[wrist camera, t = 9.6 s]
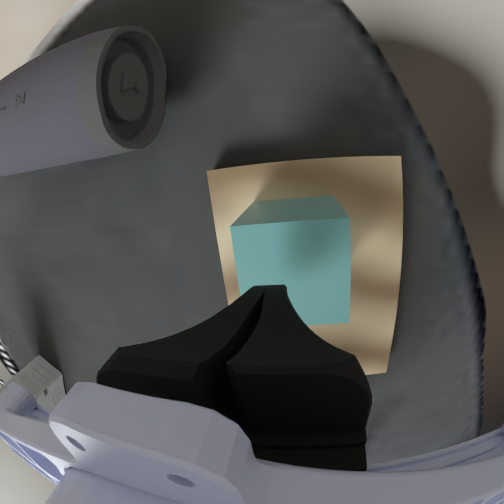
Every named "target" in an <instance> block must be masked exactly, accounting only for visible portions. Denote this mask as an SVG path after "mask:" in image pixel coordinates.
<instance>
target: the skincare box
mask: <svg viewBox="0 0 504 504" xmlns="http://www.w3.org/2000/svg"><path fill="white" fill-rule="evenodd" d="M12 382H16V383H17V384H19V385H21V386H23V387H25V388H26V389H27V390H28V391H29V392H30V393H31V394H32V395H33V397H34V398H35V400H36V401H37V404H38V405H40V406H42V407H44V408H45V409H47V410H49V411H51V412H52V411H53V410H54V408H55V407H56V406H57V405H58V404H59V402H60V401H61V400H62V399H63V398H64V397H65V395H66V393H65V389H64V384H63V376H62V373H61V372H60V371H59V370H57V369H56V368H55V367H53V366H52V365H51V364H50V363H49V362H47V361H46V360H45V359H44V358H42V357H41V356H40V355H38V356H37V357H36V358H34V359H33V360H32V361H31V362H30V363H29V364H27V365H26V366H25V367H24V368H23V369H22V370H20V371H19V372H18V373H17V374H16V375H15V376H14V377H12V378H11V379H10V380H9V381H8V382H7V383H6V384H5V385H4V386H2V387H1V388H0V394H1V393H2V392H3V391H4V390H5V389H6V388H7V387H8V386H9V385H10V384H11V383H12Z"/></svg>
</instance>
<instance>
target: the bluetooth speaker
mask: <svg viewBox="0 0 504 504" xmlns="http://www.w3.org/2000/svg"><path fill="white" fill-rule="evenodd" d="M166 81H167V71H166V64H165V60H164V56H163V53H162V51H161V48H160V46H159V44H158V42H157V41H156V39H155V38H154V36H153V35H152V34H151V33H150V32H149V31H148V30H146V29H145V28H142V27H139V26H134V25H126V26H119V27H115V28H110V29H105V30H101V31H98V32H94V33H91V34H88V35H85V36H83V37H80V38H78V39H75V40H73V41H70V42H68V43H65V44H63V45H61V46H59V47H56V48H54V49H52V50H50V51H48V52H46V53H44V54H42V55H40V56H38V57H36V58H34V59H33V60H31V61H29V62H27V63H26V64H24V65H22V66H21V67H19V68H18V69H16V70H15V71H13V72H12V73H10V74H9V75H7V76H6V77H4V78H3V79H2V80H0V176H6V175H12V174H18V173H24V172H29V171H34V170H40V169H45V168H50V167H55V166H60V165H65V164H70V163H75V162H80V161H85V160H91V159H97V158H102V157H107V156H113V155H117V154H121V153H126V152H129V151H133V150H137V149H140V148H143V147H145V146H147V145H148V144H150V143H151V142H152V141H153V139H154V138H155V137H156V135H157V134H158V132H159V130H160V128H161V125H162V123H163V119H164V115H165V95H166Z"/></svg>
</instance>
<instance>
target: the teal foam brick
mask: <svg viewBox="0 0 504 504" xmlns="http://www.w3.org/2000/svg"><path fill="white" fill-rule="evenodd" d="M230 231H231V238H232V245H233V251H234V258H235V265H236V271H237V277H238V284H239V290H240V296H241V295H243V294H244V293H245V292H246V291H247V290H249V289H250V288H251V287H253V286H258V285H283V284H284V285H285V286H286V287H287V294H288V297H289V299H290V301H291V303H292V305H293V307H294V309H295V310H296V312H297V313H298V315H299V316H300V318H301V319H302V320H303V322H304V323H305V324H306V325H321V324H337V323H349V315H350V287H351V236H350V217H349V216H348V215H347V213H346V212H345V211H344V209H343V208H342V207H341V205H340V204H339V203H338V201H337V200H336V199H335V197H334V196H318V197H303V198H290V199H278V200H266V201H256V202H253V203H252V204H251V205H250V206H249V207H248V208H247V209H246V210H245V211H244V212H243V213H242V214H241V215H240V216H239V217H238V218H237V220H236V221H235V222H234V223H233V224H232V225H231V226H230Z"/></svg>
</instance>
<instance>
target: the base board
mask: <svg viewBox="0 0 504 504" xmlns="http://www.w3.org/2000/svg"><path fill="white" fill-rule="evenodd" d="M207 176H208V183H209V190H210V197H211V203H212V210H213V216H214V223H215V229H216V235H217V241H218V247H219V253H220V259H221V265H222V271H223V276H224V282H225V288H226V293H227V299H228V304H229V305H230V304H231V303H233V302H234V301H235V300H236V299H238V298H239V297H240V290H239V284H238V277H237V271H236V265H235V258H234V251H233V245H232V238H231V231H230V226H231V225H232V224H233V223H234V222H235V221H236V220H237V218H238V217H239V216H240V215H241V214H242V213H243V212H244V211H245V210H246V209H247V208H248V207H249V206H250V205H251V204H252V203H253V202H256V201H266V200H278V199H290V198H303V197H318V196H334V197H335V199H336V200H337V201H338V203H339V204H340V205H341V207H342V208H343V209H344V211H345V212H346V213H347V215H348V216H349V217H350V236H351V287H350V315H349V323H337V324H321V325H307V326H308V327H309V328H310V329H311V330H312V331H313V332H314V333H315V334H316V335H318V336H319V337H320V338H322V339H323V340H324V341H326V342H328V343H330V344H331V345H333V346H335V347H337V348H339V349H341V350H344V351H346V352H349V353H351V354H353V355H355V356H356V358H357V359H358V361H359V363H360V365H361V367H362V369H363V371H364V373H365V375H369V374H377V373H385V372H386V370H387V365H388V361H389V355H390V350H391V345H392V339H393V333H394V326H395V320H396V312H397V304H398V296H399V286H400V275H401V261H402V242H403V183H402V164H401V156H354V157H332V158H316V159H302V160H290V161H279V162H269V163H260V164H252V165H243V166H236V167H228V168H221V169H214V170H209V171H207Z"/></svg>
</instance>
